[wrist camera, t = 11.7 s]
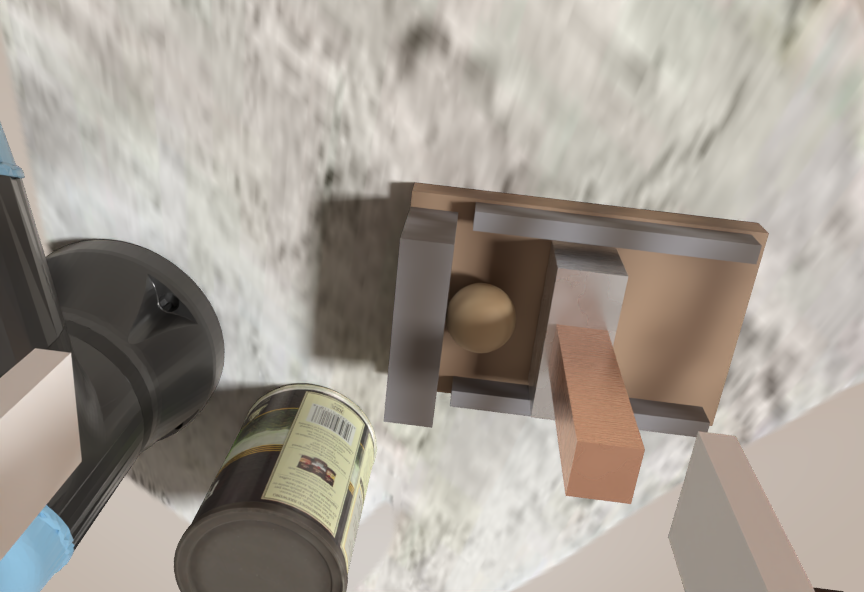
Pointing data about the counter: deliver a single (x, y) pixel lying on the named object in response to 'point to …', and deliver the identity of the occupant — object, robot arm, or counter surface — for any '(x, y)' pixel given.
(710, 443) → the robot arm
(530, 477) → the counter surface
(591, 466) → the sliding jaw
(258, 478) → the coffee can
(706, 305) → the base
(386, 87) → the counter surface
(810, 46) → the counter surface
